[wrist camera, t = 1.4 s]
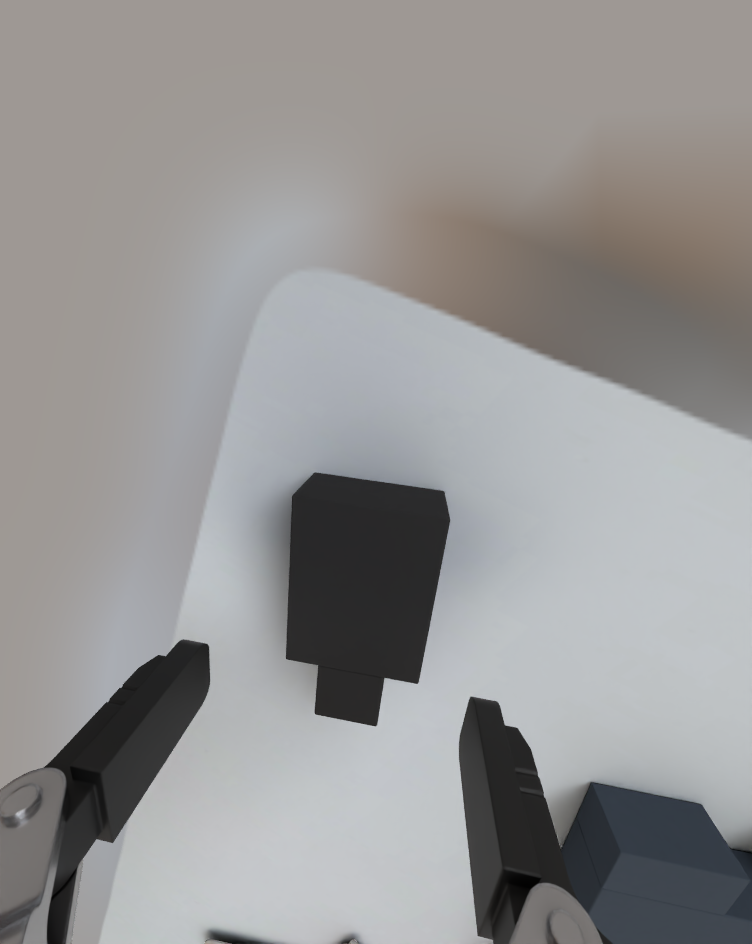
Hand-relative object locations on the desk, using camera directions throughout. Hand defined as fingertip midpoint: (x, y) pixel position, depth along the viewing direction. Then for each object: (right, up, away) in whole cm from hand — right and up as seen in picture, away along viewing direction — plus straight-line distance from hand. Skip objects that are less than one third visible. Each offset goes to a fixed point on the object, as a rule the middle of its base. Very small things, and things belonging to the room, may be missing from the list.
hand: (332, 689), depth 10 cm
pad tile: (+1, +1, +7) cm, 7 cm away
